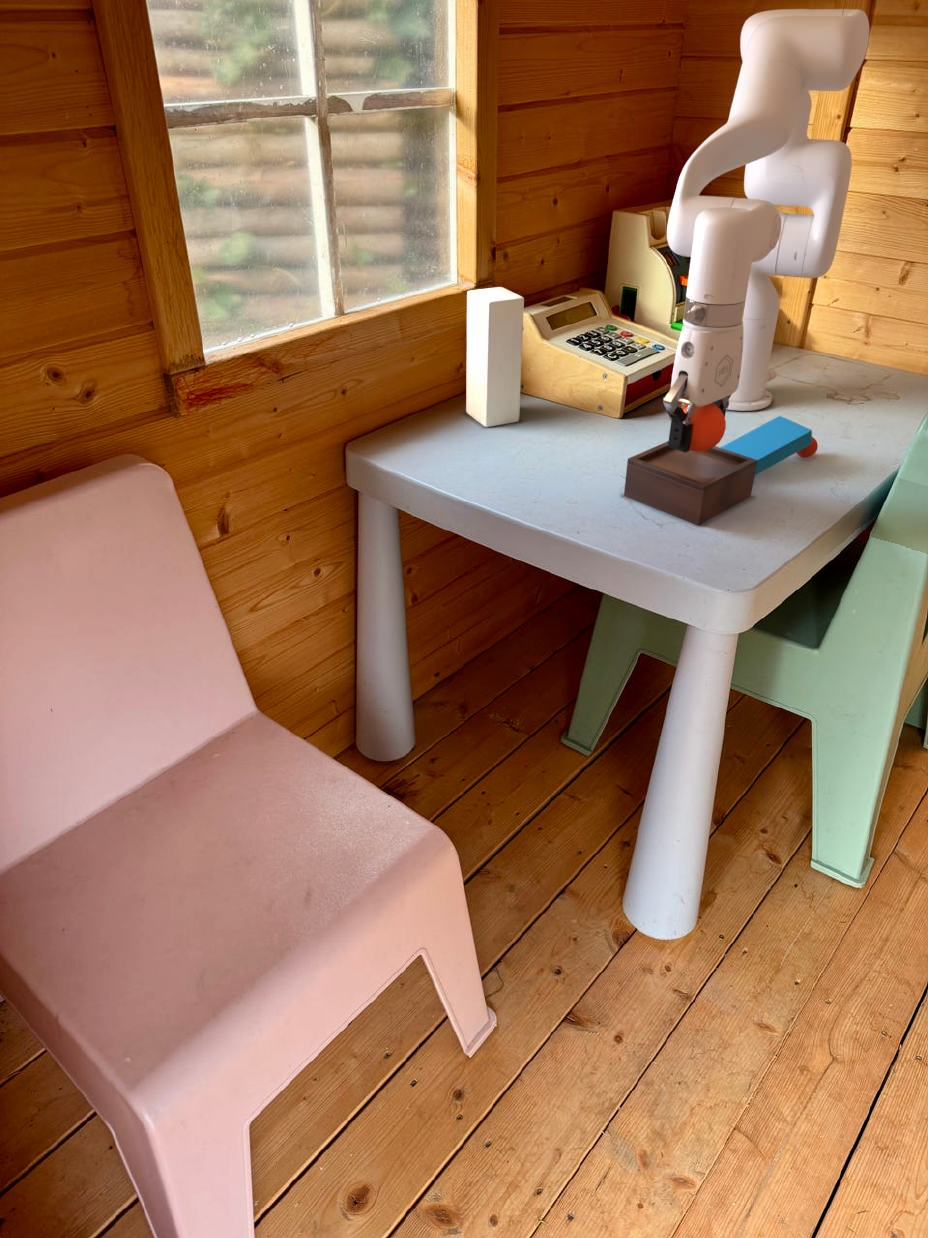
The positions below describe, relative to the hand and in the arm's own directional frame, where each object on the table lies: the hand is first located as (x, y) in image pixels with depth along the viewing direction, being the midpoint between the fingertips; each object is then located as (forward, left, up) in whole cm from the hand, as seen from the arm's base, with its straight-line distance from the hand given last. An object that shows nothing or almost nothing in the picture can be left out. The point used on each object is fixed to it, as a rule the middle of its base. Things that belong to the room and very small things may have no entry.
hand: (695, 440), depth 127 cm
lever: (-18, +2, -9) cm, 20 cm away
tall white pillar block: (-2, -42, -9) cm, 43 cm away
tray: (0, 0, -9) cm, 9 cm away
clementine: (0, 0, -1) cm, 1 cm away
